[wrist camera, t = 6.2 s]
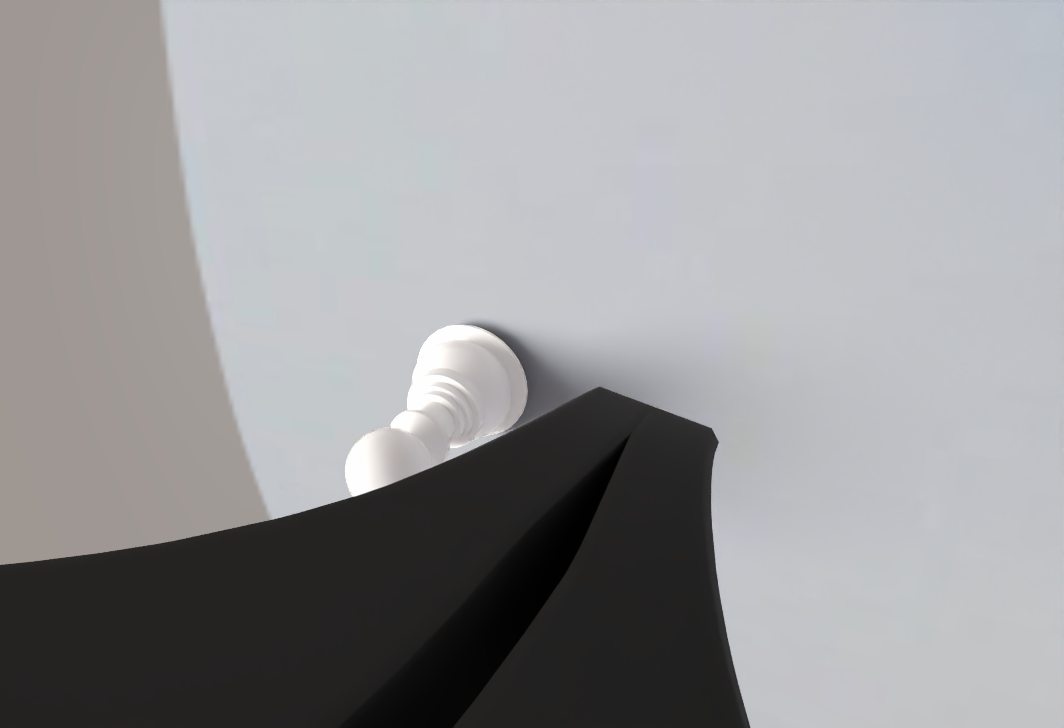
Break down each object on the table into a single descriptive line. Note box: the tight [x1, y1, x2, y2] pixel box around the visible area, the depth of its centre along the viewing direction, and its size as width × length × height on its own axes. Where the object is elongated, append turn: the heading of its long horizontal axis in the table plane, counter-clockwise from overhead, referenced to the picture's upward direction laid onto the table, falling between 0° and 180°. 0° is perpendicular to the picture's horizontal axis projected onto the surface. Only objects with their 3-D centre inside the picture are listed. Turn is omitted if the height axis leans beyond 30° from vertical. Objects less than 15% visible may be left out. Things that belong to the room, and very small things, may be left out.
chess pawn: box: [345, 324, 528, 497], centre depth 20 cm, size 3×3×5 cm
